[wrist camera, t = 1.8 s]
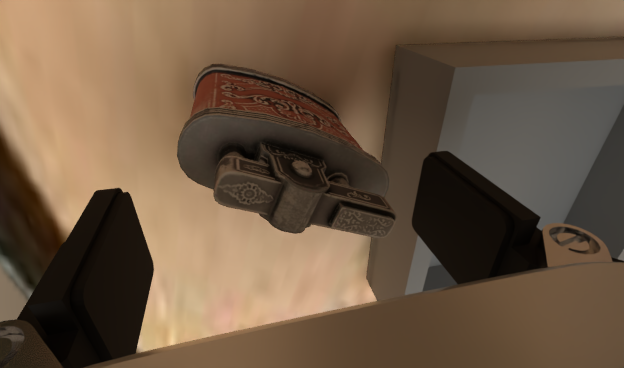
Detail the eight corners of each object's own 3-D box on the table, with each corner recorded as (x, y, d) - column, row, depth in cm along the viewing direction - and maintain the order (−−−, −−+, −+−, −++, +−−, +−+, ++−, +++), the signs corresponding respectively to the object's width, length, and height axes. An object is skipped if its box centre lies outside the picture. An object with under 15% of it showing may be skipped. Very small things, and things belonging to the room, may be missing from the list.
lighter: (187, 112, 17) (153, 235, 9) (203, 48, 16) (181, 123, 8) (322, 153, 20) (390, 273, 12) (346, 103, 19) (441, 198, 11)
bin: (655, 35, 21) (772, 51, 17) (548, 245, 31) (605, 292, 26) (396, 45, 18) (455, 67, 13) (366, 278, 27) (394, 338, 23)
